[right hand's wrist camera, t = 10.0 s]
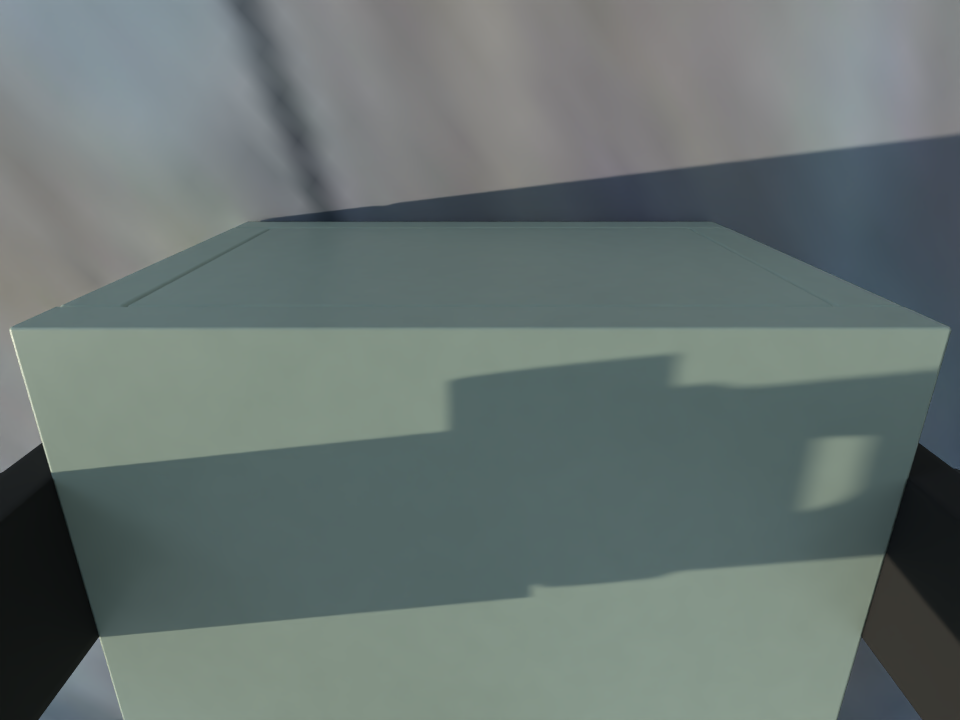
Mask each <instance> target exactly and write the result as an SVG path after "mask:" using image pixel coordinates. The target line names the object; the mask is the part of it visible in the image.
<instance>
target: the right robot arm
mask: <svg viewBox="0 0 960 720" xmlns="http://www.w3.org/2000/svg"><path fill="white" fill-rule="evenodd" d="M98 637H99V634H98V631H97V627H96V624H95V621H94V617H93V614H92V610H91V607H90V604H89V600H88V597H87V593H86V590H85V587H84V583H83V580H82V576H81V573H80V570H79V566H78V563H77V559H76V556H75V553H74V549H73V546H72V542H71V539H70V535H69V532H68V529H67V525H66V522H65V518H64V515H63V512H62V508H61V505H60V501H59V498H58V495H57V491H56V488H55V484H54V481H53V478H52V474H51V471H50V467H49V464H48V461H47V457H46V454H45V450H44V447H43V443H41V444H40V445H39V446H37V447H36V448H35V449H33V450H32V451H31V452H29V453H28V454H27V455H25V456H24V457H23V458H21V459H20V460H19V461H17V462H16V463H15V464H13V465H12V466H11V467H9V468H8V469H6V470H5V471H4V472H2V473H0V720H38V719H39V718H40V717H41V715H42V714H43V713H44V711H45V710H46V708H47V707H48V706H49V704H50V703H51V702H52V700H53V699H54V698H55V696H56V695H57V693H58V692H59V691H60V689H61V688H62V687H63V685H64V684H65V683H66V681H67V680H68V678H69V677H70V676H71V674H72V673H73V672H74V670H75V669H76V667H77V666H78V665H79V663H80V662H81V661H82V659H83V658H84V657H85V655H86V654H87V652H88V651H89V650H90V648H91V647H92V646H93V644H94V643H95V642H96V640H97V639H98ZM862 638H863V639H864V641H865V642H866V643H867V645H868V646H869V647H870V649H871V650H872V652H873V653H874V654H875V656H876V657H877V658H878V660H879V661H880V662H881V664H882V665H883V667H884V668H885V669H886V671H887V672H888V673H889V675H890V676H891V677H892V679H893V680H894V682H895V683H896V684H897V686H898V687H899V688H900V690H901V691H902V692H903V694H904V695H905V697H906V698H907V699H908V701H909V702H910V703H911V705H912V706H913V707H914V709H915V710H916V712H917V713H918V714H919V716H920V717H921V718H922V720H960V470H958V469H953V468H952V467H950V466H949V465H948V464H946V463H945V462H944V461H942V460H941V459H940V458H938V457H937V456H935V455H934V454H933V453H931V452H930V451H929V450H927V449H926V448H925V447H923V446H922V445H921V444H919V443H918V446H917V449H916V453H915V456H914V460H913V463H912V466H911V470H910V473H909V477H908V480H907V483H906V487H905V490H904V494H903V497H902V500H901V504H900V507H899V511H898V514H897V518H896V521H895V524H894V528H893V531H892V535H891V538H890V541H889V545H888V548H887V552H886V555H885V558H884V562H883V565H882V569H881V572H880V575H879V579H878V582H877V586H876V589H875V592H874V596H873V599H872V603H871V606H870V609H869V613H868V616H867V620H866V623H865V627H864V630H863V633H862Z"/></svg>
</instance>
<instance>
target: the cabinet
mask: <svg viewBox="0 0 960 720" xmlns="http://www.w3.org/2000/svg"><path fill="white" fill-rule="evenodd" d="M10 334H11V338H12V341H13V345H14V348H15V351H16V355H17V358H18V362H19V365H20V368H21V372H22V375H23V379H24V382H25V386H26V389H27V392H28V396H29V399H30V403H31V406H32V409H33V413H34V416H35V420H36V423H37V426H38V430H39V433H40V437H41V440H42V443H43V447H44V450H45V454H46V457H47V461H48V464H49V467H50V471H51V474H52V478H53V481H54V484H55V488H56V491H57V495H58V498H59V501H60V505H61V508H62V512H63V515H64V518H65V522H66V525H67V529H68V532H69V535H70V539H71V542H72V546H73V549H74V553H75V556H76V559H77V563H78V566H79V570H80V573H81V576H82V580H83V583H84V587H85V590H86V593H87V597H88V600H89V604H90V607H91V610H92V614H93V617H94V621H95V624H96V627H97V631H98V634H99V638H100V641H101V645H102V648H103V651H104V655H105V658H106V662H107V665H108V668H109V672H110V675H111V679H112V682H113V685H114V689H115V692H116V696H117V699H118V702H119V706H120V709H121V713H122V716H123V719H124V720H837V718H838V715H839V712H840V708H841V705H842V701H843V698H844V695H845V691H846V688H847V684H848V681H849V678H850V674H851V671H852V667H853V664H854V661H855V657H856V654H857V650H858V647H859V644H860V640H861V637H862V633H863V630H864V627H865V623H866V620H867V616H868V613H869V609H870V606H871V603H872V599H873V596H874V592H875V589H876V586H877V582H878V579H879V575H880V572H881V569H882V565H883V562H884V558H885V555H886V552H887V548H888V545H889V541H890V538H891V535H892V531H893V528H894V524H895V521H896V518H897V514H898V511H899V507H900V504H901V500H902V497H903V494H904V490H905V487H906V483H907V480H908V477H909V473H910V470H911V466H912V463H913V460H914V456H915V453H916V449H917V446H918V443H919V439H920V436H921V432H922V429H923V426H924V422H925V419H926V415H927V412H928V409H929V405H930V402H931V398H932V395H933V391H934V388H935V385H936V381H937V378H938V374H939V371H940V368H941V364H942V361H943V357H944V354H945V351H946V347H947V344H948V340H949V337H950V334H951V328H950V327H949V326H946V325H944V324H942V323H940V322H937V321H935V320H933V319H931V318H928V317H926V316H924V315H922V314H920V313H917V312H915V311H913V310H911V309H908V308H906V307H902V306H901V305H898V304H896V303H894V302H892V301H890V300H887V299H885V298H883V297H881V296H878V295H876V294H874V293H872V292H869V291H867V290H865V289H863V288H861V287H858V286H856V285H854V284H852V283H849V282H847V281H845V280H843V279H840V278H838V277H836V276H834V275H832V274H829V273H827V272H825V271H823V270H820V269H818V268H816V267H814V266H811V265H809V264H807V263H805V262H803V261H800V260H798V259H796V258H794V257H791V256H789V255H787V254H785V253H782V252H780V251H778V250H776V249H773V248H771V247H769V246H767V245H765V244H762V243H760V242H758V241H756V240H753V239H751V238H749V237H747V236H744V235H742V234H740V233H738V232H736V231H733V230H731V229H729V228H725V227H723V226H721V225H719V224H717V223H714V222H246V223H244V224H242V225H239V226H237V227H235V228H233V229H230V230H228V231H226V232H224V233H222V234H219V235H217V236H215V237H213V238H210V239H208V240H206V241H204V242H202V243H199V244H197V245H195V246H193V247H190V248H188V249H186V250H184V251H182V252H179V253H177V254H175V255H173V256H171V257H168V258H166V259H164V260H162V261H159V262H157V263H155V264H153V265H151V266H148V267H146V268H144V269H142V270H139V271H137V272H135V273H133V274H131V275H128V276H126V277H124V278H122V279H119V280H117V281H115V282H113V283H111V284H108V285H106V286H104V287H102V288H100V289H97V290H95V291H93V292H91V293H88V294H86V295H84V296H82V297H80V298H77V299H75V300H73V301H71V302H68V303H66V304H64V305H62V306H61V307H55V308H53V309H51V310H48V311H46V312H44V313H42V314H39V315H37V316H35V317H33V318H30V319H28V320H26V321H24V322H22V323H19V324H17V325H15V326H13V327H11V328H10Z"/></svg>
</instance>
